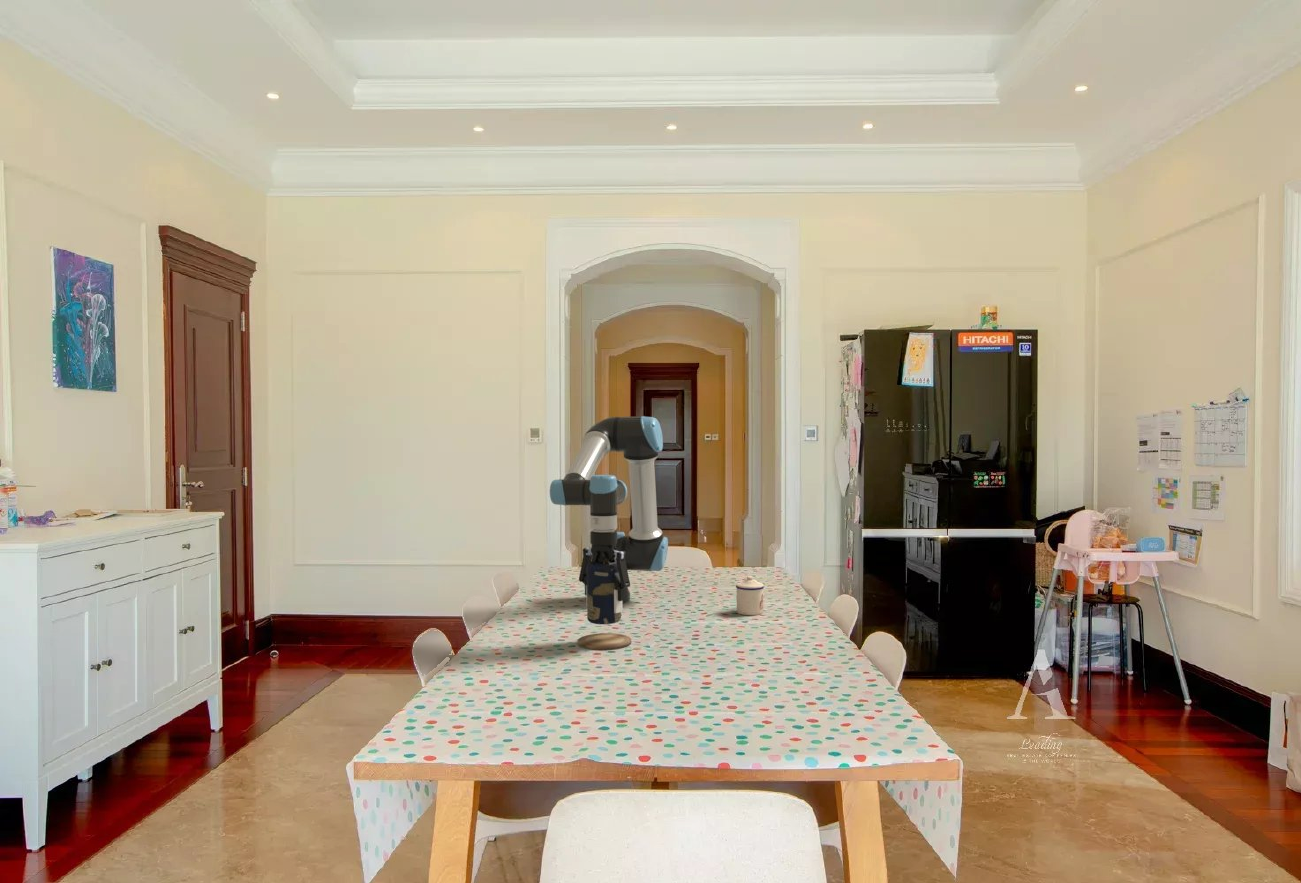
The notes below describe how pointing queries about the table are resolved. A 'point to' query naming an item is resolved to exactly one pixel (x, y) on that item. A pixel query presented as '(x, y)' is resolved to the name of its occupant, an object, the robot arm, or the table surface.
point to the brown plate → (604, 641)
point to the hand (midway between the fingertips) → (604, 609)
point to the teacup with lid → (749, 597)
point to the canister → (601, 593)
